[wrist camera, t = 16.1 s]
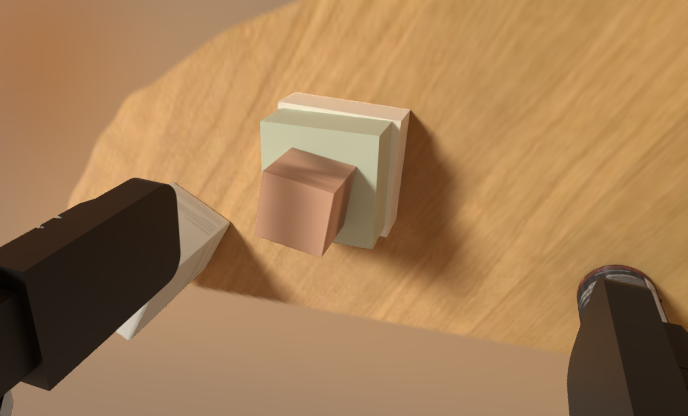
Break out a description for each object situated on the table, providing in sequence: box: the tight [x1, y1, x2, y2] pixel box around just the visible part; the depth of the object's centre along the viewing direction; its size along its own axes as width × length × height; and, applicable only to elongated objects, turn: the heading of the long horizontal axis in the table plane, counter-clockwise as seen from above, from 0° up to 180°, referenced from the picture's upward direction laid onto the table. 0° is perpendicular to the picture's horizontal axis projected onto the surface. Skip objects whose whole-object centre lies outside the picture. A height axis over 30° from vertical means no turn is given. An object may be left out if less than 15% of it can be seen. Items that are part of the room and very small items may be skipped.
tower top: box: [260, 108, 392, 250], centre depth 42 cm, size 9×9×4 cm
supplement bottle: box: [577, 265, 669, 324], centre depth 40 cm, size 6×6×11 cm
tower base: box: [278, 92, 410, 237], centre depth 46 cm, size 10×10×4 cm
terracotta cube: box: [255, 147, 356, 258], centre depth 38 cm, size 5×5×5 cm
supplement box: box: [116, 182, 230, 340], centre depth 50 cm, size 7×7×13 cm
